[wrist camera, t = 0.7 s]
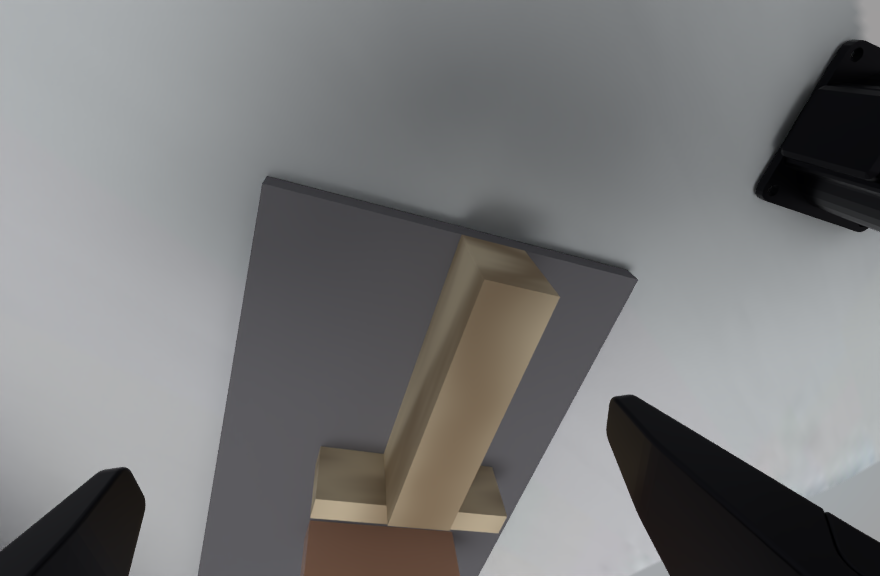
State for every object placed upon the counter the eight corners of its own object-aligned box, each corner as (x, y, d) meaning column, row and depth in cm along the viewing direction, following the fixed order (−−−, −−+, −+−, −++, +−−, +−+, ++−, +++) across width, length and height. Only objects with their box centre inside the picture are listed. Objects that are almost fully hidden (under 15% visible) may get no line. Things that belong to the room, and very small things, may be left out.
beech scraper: (589, 267, 21) (636, 314, 17) (484, 483, 26) (503, 552, 22) (385, 215, 18) (391, 257, 15) (315, 464, 24) (307, 539, 20)
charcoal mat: (627, 270, 22) (638, 279, 21) (445, 615, 33) (448, 631, 32) (267, 176, 18) (262, 183, 17) (194, 607, 29) (189, 625, 28)
